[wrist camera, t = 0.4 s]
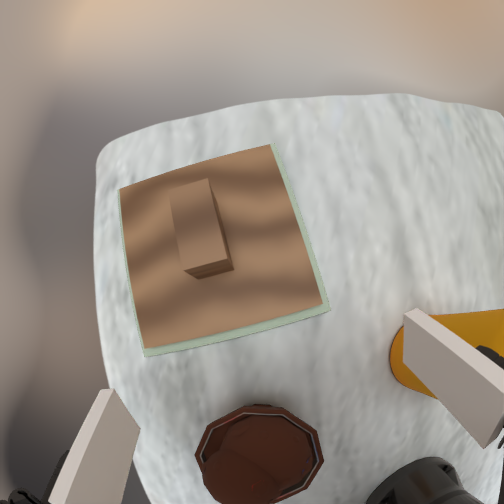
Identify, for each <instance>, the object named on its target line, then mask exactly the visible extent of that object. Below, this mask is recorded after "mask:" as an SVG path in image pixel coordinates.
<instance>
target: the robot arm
mask: <svg viewBox="0 0 504 504" xmlns="http://www.w3.org/2000/svg"><path fill="white" fill-rule="evenodd" d="M403 363H404V364H405V365H406V366H407V367H408V368H409V369H410V370H411V371H412V372H413V373H414V374H415V375H416V376H417V377H418V378H419V379H420V380H421V381H422V382H423V383H424V385H425V386H426V387H427V388H428V389H429V390H430V391H431V392H432V393H433V394H434V395H435V396H436V397H437V398H438V399H439V401H440V402H441V403H442V404H443V405H444V406H445V407H446V408H447V409H448V410H449V411H450V412H451V414H452V415H453V416H454V417H455V418H456V419H457V420H458V421H459V422H460V423H461V425H462V426H463V427H464V428H465V429H466V430H467V431H468V432H469V433H470V435H471V436H472V437H473V438H474V439H475V440H476V441H477V443H478V444H479V445H480V446H481V447H482V448H483V449H484V448H486V447H487V446H488V445H489V444H490V443H491V442H493V441H494V440H495V439H496V438H497V437H498V435H499V434H500V432H501V430H502V428H504V357H502V356H499V354H498V353H497V352H495V351H494V350H492V349H491V348H488V347H485V346H482V345H479V346H477V347H476V348H474V347H472V346H471V345H470V344H468V343H467V342H465V341H464V340H463V339H461V338H460V337H458V336H457V335H456V334H454V333H453V332H451V331H450V330H449V329H447V328H446V327H444V326H443V325H441V324H440V323H439V322H437V321H436V320H434V319H433V318H431V317H430V316H428V315H427V314H425V313H424V312H422V311H421V310H420V309H418V308H416V309H413V310H411V311H409V312H407V313H404V345H403ZM139 433H140V427H139V426H138V424H137V423H136V422H135V420H134V419H133V417H132V416H131V414H130V413H129V411H128V410H127V408H126V407H125V405H124V404H123V402H122V400H121V399H120V397H119V396H118V394H117V392H116V391H115V389H114V388H113V389H103V390H100V392H99V394H98V396H97V398H96V400H95V402H94V404H93V405H92V407H91V410H90V411H89V413H88V415H87V417H86V419H85V421H84V423H83V425H82V427H81V429H80V431H79V433H78V435H77V438H76V439H75V441H74V443H73V445H72V448H71V450H67V451H66V452H65V454H63V456H62V457H61V458H60V460H59V462H58V464H57V466H56V467H57V468H56V469H55V471H54V473H53V476H52V477H51V479H50V482H49V484H48V486H47V488H46V491H45V493H44V495H43V498H42V500H41V501H39V500H38V499H37V498H36V497H35V496H33V495H32V494H31V493H30V492H29V491H27V490H26V489H24V488H18V489H15V490H14V491H12V493H11V494H10V496H9V498H8V502H7V501H6V500H0V504H121V501H122V497H123V493H124V489H125V485H126V481H127V477H128V473H129V469H130V465H131V462H132V458H133V454H134V451H135V447H136V443H137V440H138V436H139ZM503 443H504V436H503V438H502V440H501V441H500V443H499V445H498V449H500V448H501V446H502V445H503ZM366 504H484V503H482V502H481V501H480V500H478V499H477V498H475V497H474V496H472V495H471V494H469V493H468V492H467V491H465V490H464V488H463V485H462V483H461V481H460V479H459V476H458V474H457V472H456V470H455V468H454V467H453V466H452V465H451V464H450V463H448V462H447V461H445V460H444V459H442V458H439V457H429V458H424V459H420V460H418V461H415V462H413V463H411V464H408V465H407V466H405V467H403V468H401V469H400V470H398V471H397V472H395V473H394V474H392V475H391V476H390V477H389V478H387V479H386V480H385V481H384V482H383V483H382V484H381V485H380V486H379V487H378V488H377V489H376V490H375V491H374V492H373V494H372V495H371V496H370V498H369V499H368V501H367V503H366ZM498 504H504V460H503V471H502V480H501V487H500V494H499V500H498Z"/></svg>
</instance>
